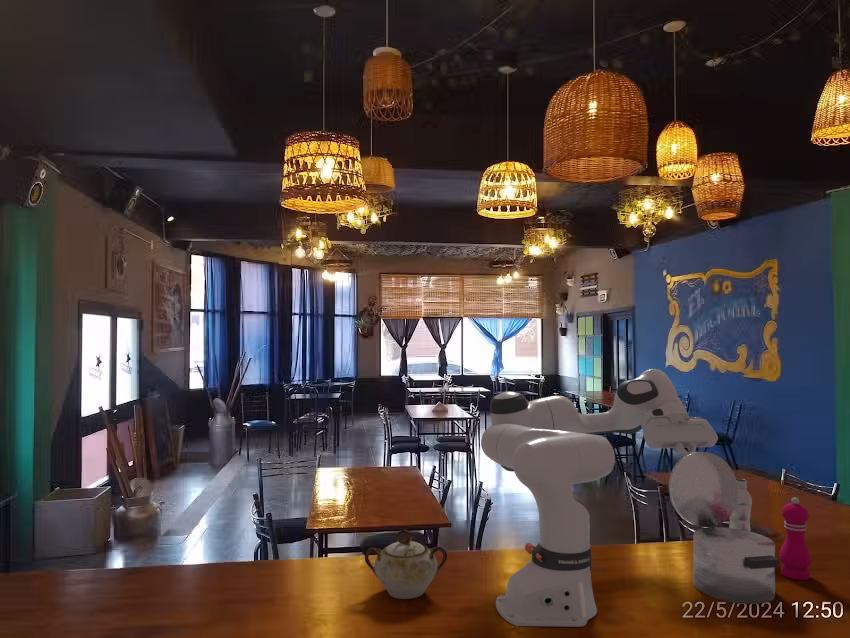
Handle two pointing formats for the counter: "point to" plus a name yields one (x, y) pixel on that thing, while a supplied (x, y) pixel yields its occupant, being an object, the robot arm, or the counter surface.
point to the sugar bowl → (405, 566)
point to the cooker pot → (734, 565)
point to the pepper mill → (795, 542)
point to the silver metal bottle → (741, 508)
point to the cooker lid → (703, 489)
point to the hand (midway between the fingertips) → (691, 459)
